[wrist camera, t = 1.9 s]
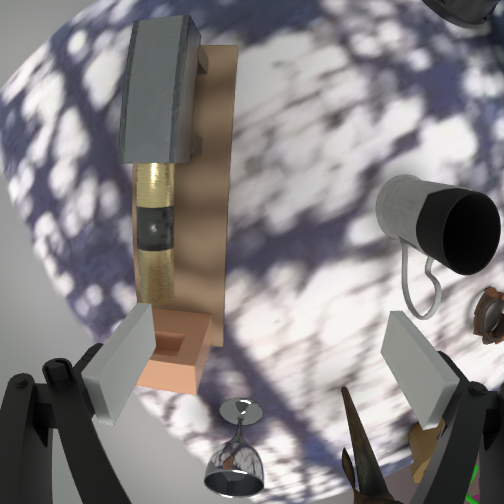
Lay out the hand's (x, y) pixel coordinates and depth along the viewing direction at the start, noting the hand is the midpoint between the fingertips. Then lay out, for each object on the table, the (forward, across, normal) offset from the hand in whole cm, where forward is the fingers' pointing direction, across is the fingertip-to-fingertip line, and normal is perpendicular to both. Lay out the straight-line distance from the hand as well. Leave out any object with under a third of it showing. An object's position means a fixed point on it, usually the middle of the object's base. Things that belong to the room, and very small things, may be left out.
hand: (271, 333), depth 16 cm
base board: (+23, -11, +4) cm, 25 cm away
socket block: (+22, -11, -12) cm, 27 cm away
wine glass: (+23, -3, -29) cm, 37 cm away
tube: (+16, -11, +9) cm, 21 cm away
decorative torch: (+23, +14, -24) cm, 36 cm away
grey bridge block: (+22, -10, +16) cm, 29 cm away
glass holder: (+23, +17, +2) cm, 29 cm away
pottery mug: (+23, +39, -10) cm, 46 cm away
